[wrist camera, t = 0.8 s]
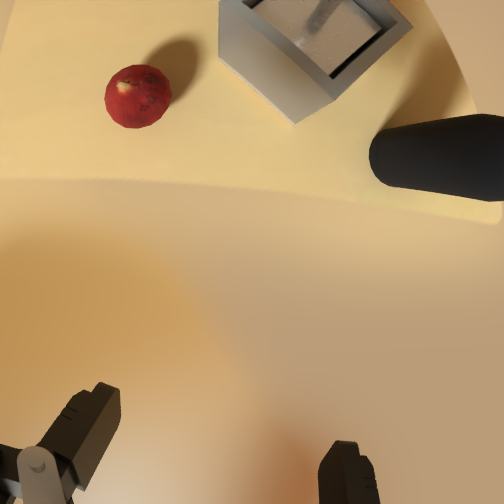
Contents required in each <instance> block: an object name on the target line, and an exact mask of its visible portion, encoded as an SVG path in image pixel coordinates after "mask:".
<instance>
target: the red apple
mask: <svg viewBox="0 0 504 504" xmlns="http://www.w3.org/2000/svg"><path fill="white" fill-rule="evenodd" d="M170 99H171V91H170V86H169V81H168V80H167V78H166V77H165V76H164V75H163V74H162V73H161V72H160V71H159V70H158V69H156V68H153V67H151V66H148V65H131V66H129V67H126V68H124V69H122V70H120V71H119V72H118V73H116V74H115V75H114V76H113V77H112V78H111V80H110V82H109V83H108V85H107V88H106V93H105V99H104V100H105V104H106V109H107V111H108V113H109V114H110V116H111V117H112V119H113V120H114V121H115V122H116V123H118V124H120V125H122V126H123V127H125V128H137V129H138V128H142V127H145V126H149V125H151V124H153V123H154V122H156V121H157V120H159V119H160V118H161V117H162V115H163V114H164V113H165V111H166V110H167V109H168V106H169V102H170Z"/></svg>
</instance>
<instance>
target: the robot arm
mask: <svg viewBox="0 0 504 504" xmlns="http://www.w3.org/2000/svg"><path fill="white" fill-rule="evenodd" d="M120 419H121V406H120V390H119V389H118V388H115V387H112V386H110V385H107V384H105V383H102V382H99V383H98V384H97V385H96V386H95V388H94V389H93V391H92V392H89V391H86V390H82V391H81V392H79V393H77V394H76V395H74V396H73V397H72V398H71V399H70V401H69V402H68V403H67V405H66V407H65V408H64V409H63V410H62V412H61V413H60V415H59V416H58V417H57V418H56V420H55V421H54V423H53V424H52V425H51V427H50V428H49V430H48V431H47V432H46V434H45V435H44V437H43V438H42V439H41V441H40V442H39V443H38V444H37V445H36V446H31V447H27V448H25V449H17V448H13V447H9V446H6V445H3V444H0V504H13V503H14V501H15V499H16V497H18V498H21V499H23V502H24V504H74V502H73V499H72V494H73V492H74V490H75V488H78V489H80V490H82V491H85V489H86V488H87V486H88V484H89V482H90V480H91V478H92V476H93V474H94V472H95V470H96V468H97V466H98V464H99V462H100V460H101V458H102V457H103V455H104V453H105V451H106V449H107V447H108V445H109V443H110V441H111V439H112V438H113V436H114V434H115V432H116V430H117V428H118V426H119V423H120ZM318 487H319V504H380V499H379V494H378V489H377V483H376V480H375V473H374V468H373V465H372V464H371V462H370V461H369V459H368V458H367V456H362V455H361V456H360V453H359V448H358V444H357V443H356V442H350V441H339V440H337V441H335V442H334V444H333V445H332V447H331V448H330V450H329V451H328V453H327V454H326V455H325V457H324V458H323V460H322V461H321V463H320V466H319V470H318Z"/></svg>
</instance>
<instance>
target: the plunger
mask: <svg viewBox="0 0 504 504" xmlns="http://www.w3.org/2000/svg"><path fill="white" fill-rule="evenodd" d="M251 10H253V11H254V12H255V13H257V14H258V15H259V16H261V17H262V18H263V19H265V20H266V21H267V22H268V23H270V24H271V25H272V26H273V27H275V28H276V29H277V30H278V31H279V32H281V33H282V34H283V35H284V36H285V37H287V38H288V39H289V40H290V41H291V42H292V43H294V44H295V45H296V46H297V47H298V48H299V49H300V50H302V51H303V52H304V53H305V54H306V55H307V56H308V57H309V58H310V59H311V60H313V61H314V62H315V63H316V64H317V65H318V66H319V67H320V68H321V69H322V70H323V71H324V72H325V73H326V74H327V75H329V74H330V73H331V72H333V71H334V70H335V69H336V68H337V67H338V66H339V65H340V64H341V63H342V62H344V61H345V60H346V59H347V58H348V57H349V56H350V55H351V54H353V53H354V52H355V51H356V50H357V49H358V48H359V47H361V46H362V45H363V44H364V43H365V42H366V41H367V40H369V39H370V38H371V37H372V36H373V35H374V34H376V33H377V32H378V31H379V30H380V29H382V28H381V27H380V26H379V25H378V24H377V23H376V22H375V21H374V20H373V19H372V18H371V17H370V16H369V15H368V14H367V13H366V12H365V11H364V10H363V9H362V8H361V7H360V6H358V5H357V4H356V3H355V2H354V1H353V0H264V1H262V2H261V3H259V4H258V5H257V6H255V7H254V8H253V9H251Z"/></svg>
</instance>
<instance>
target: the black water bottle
mask: <svg viewBox="0 0 504 504" xmlns="http://www.w3.org/2000/svg"><path fill="white" fill-rule="evenodd" d="M369 161H370V165H371V169H372V170H373V172H374V174H375V176H376V177H377V178H378V179H379V180H380V181H381V182H382V183H384V184H386V185H388V186H392V187H400V188H407V189H415V190H422V191H429V192H435V193H442V194H448V195H454V196H460V197H466V198H472V199H477V200H482V201H488V202H492V201H504V117H502V116H496V115H490V114H474V115H466V116H459V117H453V118H446V119H440V120H434V121H428V122H423V123H417V124H412V125H407V126H401V127H396V128H391V129H386V130H383V131H382V132H380V133H378V134H377V135H376V137H375V138H374V139H373V140H372V143H371V146H370V149H369Z"/></svg>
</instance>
